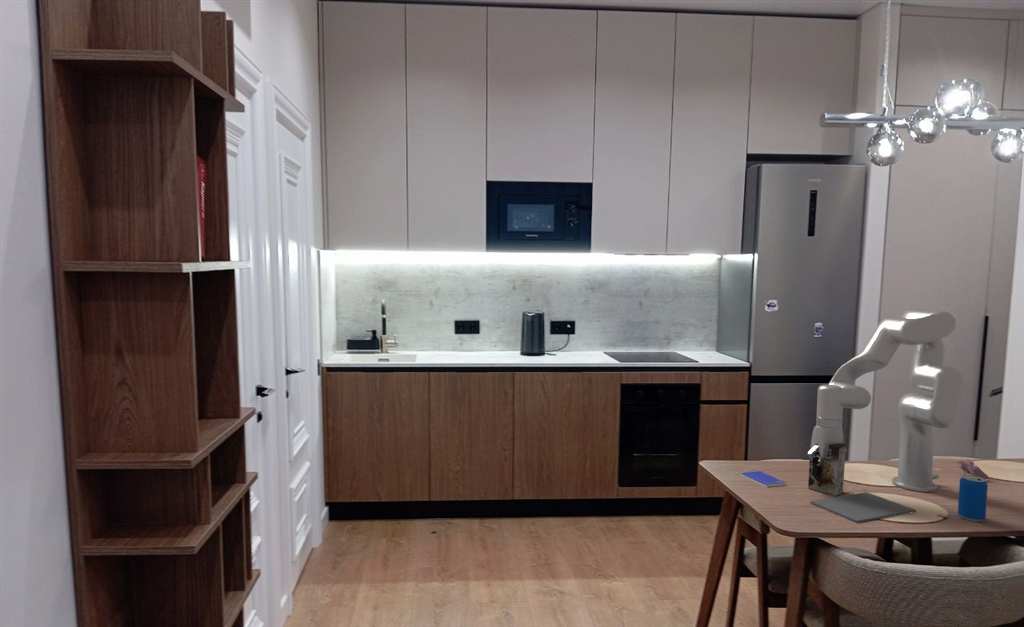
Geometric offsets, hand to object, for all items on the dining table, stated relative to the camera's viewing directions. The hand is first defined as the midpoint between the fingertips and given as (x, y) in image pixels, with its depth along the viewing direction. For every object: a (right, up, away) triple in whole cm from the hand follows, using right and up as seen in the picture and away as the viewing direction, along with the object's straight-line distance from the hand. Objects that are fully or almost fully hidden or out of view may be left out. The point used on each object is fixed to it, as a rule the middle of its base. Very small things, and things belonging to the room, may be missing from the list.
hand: (826, 475), depth 198 cm
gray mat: (+3, -6, -15) cm, 16 cm away
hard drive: (-17, -5, +10) cm, 20 cm away
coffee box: (0, -5, 0) cm, 5 cm away
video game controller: (+62, -6, +18) cm, 64 cm away
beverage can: (+31, -7, -21) cm, 39 cm away
